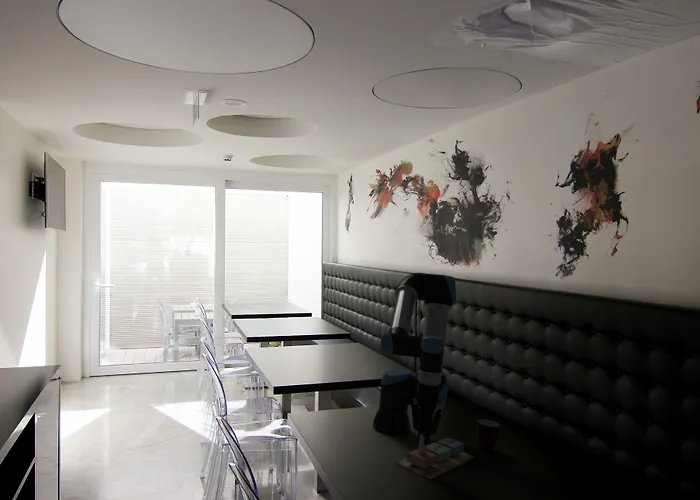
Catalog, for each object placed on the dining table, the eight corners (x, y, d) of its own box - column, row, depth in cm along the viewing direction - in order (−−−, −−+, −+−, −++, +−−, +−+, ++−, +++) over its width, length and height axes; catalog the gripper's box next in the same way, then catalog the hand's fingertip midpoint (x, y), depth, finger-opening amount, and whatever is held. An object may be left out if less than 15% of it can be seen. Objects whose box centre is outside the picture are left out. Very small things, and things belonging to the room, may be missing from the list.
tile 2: (422, 455, 173) (423, 446, 173) (433, 450, 178) (434, 442, 178) (439, 462, 168) (440, 453, 168) (450, 457, 173) (451, 449, 173)
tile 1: (406, 461, 166) (407, 452, 166) (419, 456, 171) (419, 448, 171) (424, 469, 161) (425, 460, 161) (436, 463, 167) (437, 455, 167)
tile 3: (436, 449, 179) (437, 441, 179) (447, 444, 185) (447, 437, 185) (453, 455, 175) (454, 447, 175) (463, 451, 180) (464, 443, 180)
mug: (497, 458, 181) (500, 430, 181) (474, 453, 183) (477, 426, 183) (497, 447, 191) (499, 421, 191) (475, 443, 193) (478, 417, 193)
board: (395, 464, 168) (396, 456, 168) (440, 445, 188) (441, 438, 188) (430, 479, 158) (431, 471, 158) (474, 458, 178) (474, 451, 178)
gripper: (406, 379, 168) (400, 449, 168) (439, 389, 159) (432, 463, 159) (419, 376, 174) (413, 444, 174) (451, 386, 165) (445, 457, 165)
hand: (422, 453), depth 166 cm, fingers closed
